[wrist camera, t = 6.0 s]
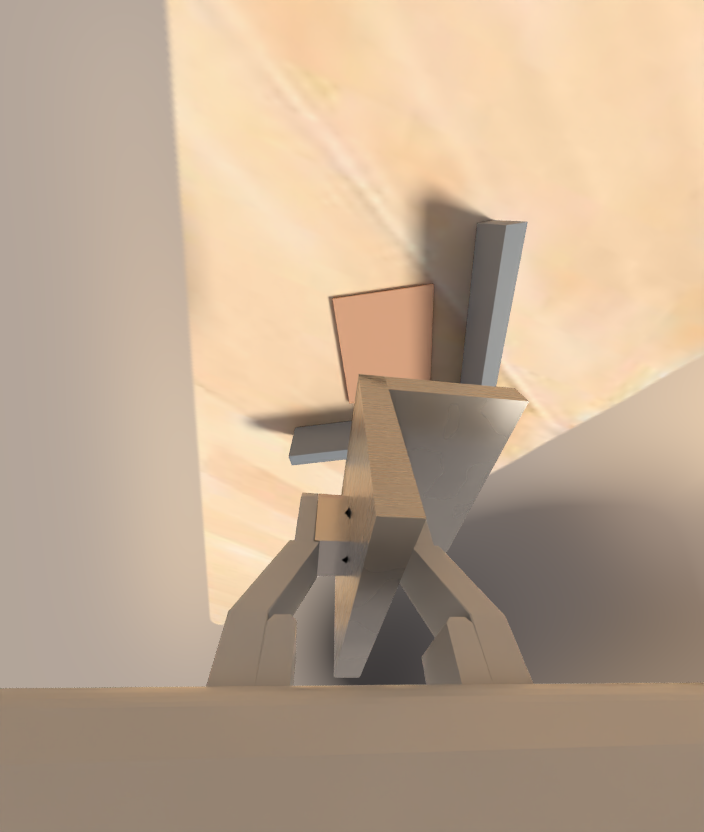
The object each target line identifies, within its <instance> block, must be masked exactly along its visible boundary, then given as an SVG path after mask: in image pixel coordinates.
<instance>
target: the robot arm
mask: <svg viewBox="0 0 704 832" xmlns="http://www.w3.org/2000/svg"><path fill="white" fill-rule="evenodd" d="M348 511H349V497H348V496H342V495H329V494H319V495H318V494H314V493H302V496H301V501H300V508H299V514H298V521H297V528H296V535H295V540H290V541H289V542H288V543H287V544H286V545H285V546H284V548H283V549H282V550H281V551H280V552H279V553H278V555H277V556H276V557H275V558H274V559H273V560H272V561H271V563H270V564H269V565H268V566H267V567H266V568H265V570H264V571H263V572H262V573H261V574H260V575H259V577H258V578H257V579H256V580H255V581H254V582H253V584H252V585H251V586H250V587H249V588H248V589H247V591H246V592H245V593H244V594H243V595H242V596H241V597H240V599H239V600H238V601H237V602H236V603H235V604H234V606H233V607H232V608H231V609H230V610H229V611H228V614H227V618H226V621H225V624H224V628H223V631H222V634H221V638H220V641H219V645H218V648H217V651H216V655H215V658H214V661H213V665H212V668H211V671H210V675H209V678H208V682H207V685H206V687H112V688H111V687H109V688H108V687H107V688H106V687H104V688H103V687H102V688H0V832H704V682H693V683H692V682H691V683H690V682H686V683H576V684H574V683H573V684H572V683H570V684H533V681H532V679H531V677H530V674H529V672H528V670H527V667H526V665H525V662H524V660H523V657H522V655H521V653H520V650H519V648H518V645H517V643H516V641H515V638H514V636H513V634H512V631H511V629H510V626H509V624H508V622H507V620H506V617H505V615H504V614H503V613H502V612H501V611H500V610H499V609H498V608H497V607H496V606H495V605H494V604H493V603H492V602H491V601H490V600H489V599H488V598H487V596H486V595H485V594H484V593H483V592H482V591H481V590H480V589H479V588H478V587H477V586H476V585H475V584H474V583H473V582H472V581H471V580H470V579H469V577H468V576H467V575H465V573H464V572H463V571H462V570H461V569H460V568H459V567H458V566H457V565H456V564H455V563H454V562H453V561H452V560H451V559H450V557H449V556H448V555H447V554H446V553H445V552H444V551H443V550H442V549H441V548H440V547H439V546H434V544H433V541H432V537H431V534H430V531H429V527H428V524H427V520H426V521H425V523H424V526H423V528H422V531H421V533H420V535H419V538H418V540H417V542H416V545H415V547H414V550H413V552H412V554H411V557H410V559H409V561H408V564H407V566H406V568H405V571H404V573H403V576H402V578H401V580H400V585H401V586H402V588H403V589H404V591H405V592H406V594H407V595H408V597H409V598H410V600H411V602H412V603H413V605H414V606H415V608H416V609H417V611H418V612H419V614H420V616H421V617H422V619H423V620H424V622H425V623H426V625H427V626H428V628H429V629H430V631H431V633H432V634H433V636H434V637H435V639H434V640H433V642H432V643H431V644H430V646H429V647H428V649H427V650H426V652H425V653H424V655H423V656H422V662H423V668H424V673H425V679H426V685H343V686H342V685H341V686H340V685H338V686H293V684H294V673H295V663H296V623H297V622H296V620H295V618H294V617H293V615H294V614H295V612H296V610H297V609H298V607H299V606H300V604H301V602H302V601H303V599H304V598H305V596H306V594H307V593H308V591H309V589H310V588H311V586H312V585H313V583H314V581H315V580H316V578H317V576H344V571H345V566H346V556H348V551H349V545H350V519H349V518H348Z"/></svg>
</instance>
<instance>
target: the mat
mask: <svg viewBox="0 0 704 832" xmlns="http://www.w3.org/2000/svg"><path fill="white" fill-rule="evenodd" d="M433 294H434V284H428V285H421V286H414V287H407V288H400V289H393V290H386V291H379V292H373V293H366V294H359V295H352V296H345V297H338V298H333V305H334V311H335V317H336V323H337V330H338V336H339V342H340V348H341V354H342V360H343V367H344V373H345V379H346V385H347V391H348V397H349V403H355V396H356V389H357V382H358V375H359V374H364V375H375V376H386V377H397V378H408V379H419V380H429V381H430V378H431V350H432V322H433Z"/></svg>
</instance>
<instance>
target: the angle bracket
mask: <svg viewBox="0 0 704 832" xmlns="http://www.w3.org/2000/svg"><path fill="white" fill-rule="evenodd" d="M528 402H529V401H528V400H527V399H526V398H525V397H524V396H522V395H521V394H520V393H519V392H518V391H517V390H516V389H515V388H505V387H494V386H484V385H473V384H462V383H451V382H440V381H429V380H419V379H408V378H397V377H386V376H375V375H364V374H359V375H358V382H357V389H356V396H355V403H354V410H353V417H352V424H351V431H350V438H349V445H348V452H347V459H346V466H345V473H344V480H343V487H342V494H341V495H342V496H348V497H349V511H348V518H349V519H350V545H349V551H348V556H346V566H345V571H344V576H335V639H334V642H335V643H334V645H335V646H334V678H343V677H344V678H346V677H360V675H361V672H362V670H363V668H364V665H365V662H366V661H367V658H368V655H369V654H370V651H371V649H372V646H373V644H374V642H375V639H376V637H377V634H378V632H379V630H380V627H381V625H382V623H383V620H384V618H385V616H386V613H387V611H388V609H389V606H390V604H391V602H392V599H393V597H394V594H395V592H396V590H397V587H398V585H399V583H400V580H401V578H402V576H403V573H404V571H405V568H406V566H407V564H408V561H409V559H410V557H411V554H412V552H413V550H414V547H415V545H416V542H417V540H418V538H419V535H420V533H421V531H422V528H423V526H424V523H425V521H426V520H427V524H428V527H429V531H430V534H431V537H432V541H433V544H434V546H439V547H440V548H441V549H442V550H443V551H444V552H445V553H447V551H448V549H449V547H450V545H451V544H452V542H453V540H454V538H455V536H456V534H457V533H458V531H459V529H460V527H461V525H462V523H463V521H464V520H465V518H466V516H467V514H468V512H469V510H470V509H471V507H472V505H473V503H474V501H475V499H476V498H477V496H478V494H479V492H480V490H481V488H482V486H483V485H484V483H485V481H486V479H487V477H488V476H489V474H490V472H491V470H492V468H493V466H494V465H495V463H496V461H497V459H498V457H499V455H500V454H501V452H502V450H503V448H504V446H505V444H506V443H507V441H508V439H509V437H510V435H511V433H512V432H513V430H514V428H515V426H516V424H517V422H518V420H519V419H520V417H521V415H522V413H523V411H524V409H525V408H526V406H527V404H528Z"/></svg>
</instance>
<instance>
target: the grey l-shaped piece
mask: <svg viewBox="0 0 704 832" xmlns="http://www.w3.org/2000/svg"><path fill="white" fill-rule="evenodd" d="M526 227H527V222H520V221H499V220H493V221H487V222H480V223H477V231H476V240H475V249H474V259H473V268H472V278H471V287H470V296H469V306H468V315H467V325H466V334H465V343H464V353H463V362H462V372H461V381H460V383H462V384H473V385H484V386H494V387H496V384H497V379H498V373H499V368H500V363H501V358H502V353H503V347H504V342H505V337H506V332H507V326H508V321H509V316H510V311H511V306H512V300H513V295H514V290H515V285H516V280H517V274H518V269H519V264H520V259H521V254H522V248H523V243H524V238H525V233H526ZM351 424H352V421H346V422H338V423H330V424H322V425H313V426H305V427H297V428H295V430H294V435H293V439H292V444H291V448H290V453H289V459H290V461H291V464H292V465H299V464H308V463H317V462H326V461H335V460H343V459H347V452H348V445H349V438H350V431H351Z"/></svg>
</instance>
